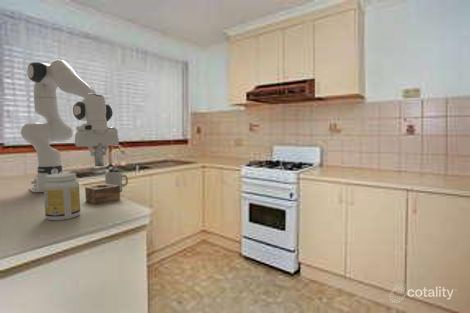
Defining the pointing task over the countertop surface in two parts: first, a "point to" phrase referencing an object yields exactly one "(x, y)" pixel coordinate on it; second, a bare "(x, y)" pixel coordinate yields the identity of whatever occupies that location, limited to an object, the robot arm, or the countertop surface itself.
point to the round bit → (99, 155)
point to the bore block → (102, 193)
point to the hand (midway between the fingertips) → (98, 155)
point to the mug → (115, 179)
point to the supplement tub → (61, 196)
